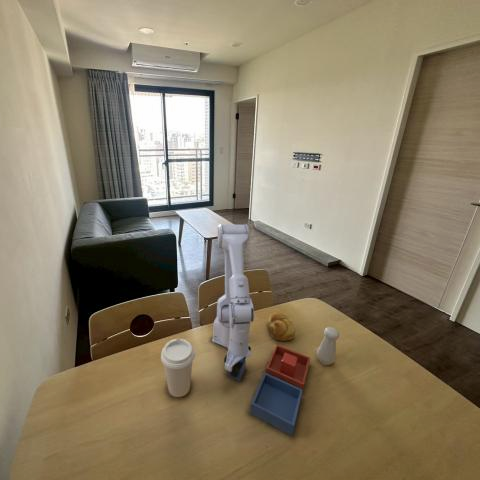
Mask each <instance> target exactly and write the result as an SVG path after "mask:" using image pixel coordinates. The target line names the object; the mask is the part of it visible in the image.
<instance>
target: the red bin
mask: <svg viewBox="0 0 480 480" xmlns="http://www.w3.org/2000/svg"><path fill="white" fill-rule="evenodd" d="M285 353H288V354H290V355H293V356H295V357H298V358H297V363H296V368H295V372H294V375H293V378H292V377H289V376H287V375H285V374H283V373H280V369H281V363H282V359H283V357H284V354H285ZM310 363H311V357H310V356H307V355H305V354H302V353H299V352H297V351H294V350H292V349H290V348H287V347H285V346H281V345H279V344H275V346H274V348H273V351H272V353H271V356H270V358H269V361H268V363H267V365H266V369H265V373H267V374H269V375H271V376H273V377H276V378H278V379H280V380H282V381H285V382H287V383H289V384H291V385H293V386H296V387H298V388H300V389H302V390H303V391H304V387H305V382H306V378H307V375H308V370H309V367H310ZM303 391H302V393H303Z"/></svg>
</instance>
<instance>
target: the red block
mask: <svg viewBox="0 0 480 480" xmlns="http://www.w3.org/2000/svg"><path fill="white" fill-rule="evenodd" d="M297 358H298V357H295V356H293V355H290V354H288V353H285V354H284V357H283V359H282V363H281V369H280V373H283V374H285V375H287V376H289V377H292V378H293V375H294V372H295V368H296V363H297Z"/></svg>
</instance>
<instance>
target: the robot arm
mask: <svg viewBox="0 0 480 480" xmlns="http://www.w3.org/2000/svg"><path fill="white" fill-rule="evenodd" d="M250 233H251V232H250V227H249V225H248V224H247V223H244V224H219V225H218V226H217V246H218V248H219V249H222V250H223V253H224V294H223V295H222V296H220V297H219V298H218V300H217V301H216V302H217V303H216V317H215V319H214V321H213V325H212V338H211V341H212V343H215V344H218V345H220V346H223V347H225V348H227V354H226V355H225V356H224V358H223V363H224V370H226V371H227V372H228V371H229V372H230V375H231V376H233V377H235V378H236V377H237V375H238V373H239V370H240V369H241V367H242V365H243V363H241V362H239V361H240V360H241V359H244V360H245V361H246V358H250V357H251V356H252V351H251V350H252V347H251V346H250V345H249V343H250V342H249V341H250V337H251V335H250V332H251V331H250V328H251V323H253V322H254V319H255V308H254V304H253V302H252V301H253V299H252V298H251V297H250V296H251V295H250V286H249V278H248V277H247V276H246V275H245V274H244V273H245V271H244V270H245V269H244V268H245V267H244V264H245V263H244V259H245V257H244V256H245V255H244V249H246V248H247V246H248V243H249V241H250V235H251V234H250Z"/></svg>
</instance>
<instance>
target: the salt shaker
mask: <svg viewBox="0 0 480 480" xmlns="http://www.w3.org/2000/svg"><path fill="white" fill-rule="evenodd" d="M323 335H324V338H323V340H322V341H321V343H320V345H319V347H318V348H317V350H316V357H317V360H318V361H319V362H320V364H321V365H324V366H326V367H327V366H330V365H331V364H333V363H335V361H336V359H337V340H338V339H339V338H340V333H339V331H338V329H336V328H334V327H332V326H331V327H330V326H329V327H326V328H324V331H323Z"/></svg>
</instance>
